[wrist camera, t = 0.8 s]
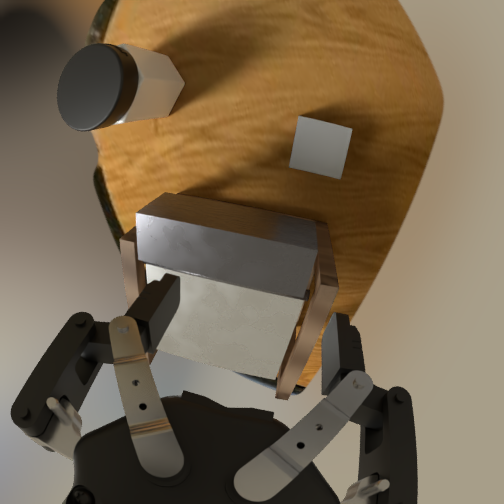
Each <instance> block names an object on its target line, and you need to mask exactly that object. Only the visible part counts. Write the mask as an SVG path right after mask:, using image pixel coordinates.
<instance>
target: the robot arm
mask: <svg viewBox="0 0 504 504" xmlns="http://www.w3.org/2000/svg"><path fill="white" fill-rule="evenodd" d="M179 304H180V276H177V275H173V274H169V273H165V274H164V276H163V277H162V278H161V280H160V281H158V280H153V281H152V282H150V283H148V284H147V285H146V286H145V288H144V289H143V290H142V292H141V293H140V294H139V296H138V297H137V298H136V300H135V301H134V303H133V304H132V305H131V307H130V308H129V309H128V311H127V313H126V314H125V315H124V316H119V317H116V318H114V319H113V320H112V321H111V322H97V321H94V319H93V317H92V316H91V314H89V313H86V312H79V313H76V314H74V315H72V316H71V317H70V318H69V320H68V321H67V323H66V324H65V325H64V327H63V328H62V329H61V331H60V332H59V333H58V335H57V336H56V338H55V339H54V341H53V342H52V343H51V345H50V346H49V348H48V349H47V351H46V352H45V354H44V355H43V356H42V358H41V360H40V361H39V362H38V364H37V366H36V367H35V369H34V370H33V372H32V373H31V375H30V377H29V378H28V380H27V381H26V383H25V385H24V386H23V388H22V390H21V391H20V393H19V395H18V397H17V398H16V400H15V402H14V403H13V405H12V408H11V417H12V420H13V422H14V423H15V424H16V425H17V426H18V427H19V428H20V429H21V430H22V431H23V432H24V433H25V434H26V435H27V436H28V437H30V438H31V439H32V440H33V441H34V442H36V443H37V444H39V445H41V446H42V447H43V448H45V449H46V450H48V451H51V452H55V451H56V452H58V453H60V454H61V455H63V456H65V457H66V458H68V459H70V460H72V461H73V462H74V483H73V487H72V489H71V491H70V493H69V495H68V496H67V497H66V499H65V500H64V502H63V503H62V504H417V495H418V491H417V489H418V477H417V450H416V436H415V426H414V416H413V407H412V400H411V396H410V394H409V393H408V392H407V390H405V389H404V388H402V387H398V386H397V387H392V388H391V389H390V390H389V391H387V390H385V389H382V388H380V387H377V386H375V385H374V384H373V381H372V379H371V378H370V376H369V375H368V374H366V373H365V365H364V358H363V351H362V344H361V338H360V333H359V332H358V330H357V328H356V327H355V326H352V325H350V322H349V316H348V315H346V314H341V313H336V312H334V313H333V314H332V316H331V319H330V321H329V323H328V325H327V327H326V329H325V331H324V334H323V337H322V395H327V397H326V398H324V399H323V400H321V402H319V403H318V404H317V405H316V406H315V407H314V408H313V409H312V410H311V411H310V412H309V413H308V414H307V415H306V416H305V417H304V418H303V419H302V420H300V421H299V422H298V423H297V424H296V425H295V426H294V427H293V428H291V429H289V428H288V427H287V426H286V425H285V424H283V423H282V422H280V421H278V420H277V419H274V418H273V415H274V412H271V411H265V410H260V409H255V408H227V407H224V406H222V405H220V404H219V403H217V402H215V401H213V400H211V399H209V398H207V397H205V396H201V395H198V394H194V393H191V392H188V391H183V393H182V396H167V397H163V398H160V397H159V394H158V391H157V388H156V385H155V382H154V379H153V376H152V373H151V370H150V366H149V363H148V360H147V357H146V355H145V354H146V352H148V353H151V354H154V352H155V350H156V349H157V347H158V345H159V343H160V341H161V339H162V337H163V335H164V334H165V332H166V330H167V328H168V326H169V324H170V323H171V321H172V319H173V317H174V315H175V313H176V312H177V310H178V307H179ZM103 363H107V364H114V369H115V374H116V378H117V382H118V387H119V391H120V395H121V399H122V403H123V407H124V411H125V414H126V416H124V417H121V418H119V419H117V420H115V421H113V422H111V423H109V424H107V425H105V426H102V427H100V428H98V429H96V430H93V431H91V432H89V433H87V434H85V435H84V436H83V437H81V434H80V431H81V427H82V420H81V417H80V415H79V414H78V411H79V409H80V407H81V405H82V403H83V401H84V399H85V397H86V395H87V393H88V391H89V389H90V387H91V385H92V383H93V382H94V380H95V378H96V376H97V374H98V372H99V370H100V368H101V366H102V365H103ZM348 421H351V422H354V423H356V424H359V425H361V432H360V433H361V434H360V457H359V474H358V481H357V482H355V483H353V484H352V485H351V486H350V487H349V488H348V490H347V493H346V496H345V498H344V500H343V501H342V502H340V501H339V499H338V497H337V495H336V494H335V492H334V491H333V490H332V488H331V487H330V485H329V484H328V483H327V482H326V480H325V478H324V477H323V476H322V474H321V473H320V471H319V470H318V469H317V467H316V466H315V464H314V463H313V461H312V460H313V459H314V458H315V457H316V456H317V455H318V454H319V453H320V452H321V451H322V450H323V449H324V448H325V447H326V446H327V445H328V444H329V443H330V441H331V440H332V439H333V438H334V437H335V436H336V435H337V434H338V433H339V431H340V430H341V429H342V428H343V427H344V426H345V424H346V423H347V422H348Z"/></svg>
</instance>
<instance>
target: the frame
mask: <svg viewBox="0 0 504 504" xmlns="http://www.w3.org/2000/svg"><path fill="white" fill-rule="evenodd" d="M177 194H178V195H184V194H179V193H177ZM184 196H190V195H184ZM190 197H195V198H201V199H206V200H212V201H217V202H223V201H218V200H213V199H207V198H202V197H196V196H190ZM223 203H228V204H233V205H238V206H243V207H248V208H253V209H258V210H263V211H268V212H273V213H278V212H274V211H269V210H264V209H259V208H254V207H249V206H244V205H239V204H234V203H229V202H223ZM278 214H282V215H287V216H292V215H288V214H283V213H278ZM292 217H296V218H301V217H297V216H292ZM301 219H305V220H310V219H306V218H301ZM310 221H314V222H315V225H316V234H317V245H318V253H317V256H316V259H315V262H314V266H313V269H312V272H311V275H310V278H309V282H308V285H307V288H306V289H309V287H310V284H311V281H312V278H313V275H314V276H315V290H314V293H313V296H312V298H311V301H310V304H309V307H308V310H307V312H306V315H305V318H304V321H303V323H302V326H301V329H300V331H299V334H298V337H297V339H296V342H295V338H296V325H297V322H298V320H299V317H300V314H301V311H302V308H303V305H304V302H305V301H304V302H303V305H302V307H301V310H300V313H299V316H298V319H297V322H296V325H295V328H294V330H293V333H292V336H291V339H290V341H289V344H288V347H287V350H286V352H285V355H284V358H283V360H282V363H281V365H280V368H279V374H278V381H277V389H276V396H275V398H277V399H283V400H288V399H289V397H290V395H291V393H292V391H293V389H294V387H295V385H296V383H297V381H298V379H299V377H300V375H301V373H302V371H303V369H304V367H305V365H306V363H307V361H308V358H309V356H310V354H311V352H312V350H313V348H314V346H315V343H316V341H317V339H318V337H319V335H320V332H321V330H322V328H323V325H324V323H325V321H326V318H327V316H328V314H329V311H330V309H331V307H332V304H333V302H334V299H335V297H336V294H337V292H338V289H339V285H338V279H337V273H336V267H335V261H334V256H333V250H332V245H331V240H330V235H329V230H328V225H327V223H323V222H319V221H315V220H310ZM120 248H121V258H122V266H123V275H124V283H125V290H126V296H127V303H128V309H129V308H130V307H131V305H132V304H133V303H134V301H135V300H136V298H137V297H138V296H139V294H140V293H141V292H142V290H143V289H144V288H145V286H146V285H145V273H144V263H143V262H142V260H138V248H137V229H136V226H135V227H134V228H132V229H131V230H130V231H129V232H127V233H126V234H125V235H124V236H123V237H121V238H120ZM157 351H158V349H156V350H155V352H154V354H151V353H148V352H146V354H145V355H146V357H147V360H148V363H149V365H150V364H151V362H152V360H153V358H154V356H155V354H156V353H157Z"/></svg>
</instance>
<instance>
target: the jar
mask: <svg viewBox="0 0 504 504" xmlns="http://www.w3.org/2000/svg"><path fill="white" fill-rule="evenodd" d="M184 85H185V82H184V81H183V79H182V77H181V76H180V74H179V73H178V71H177V69H176V68H175V66H174V65H173V63H172V61H171V60H170V58H169V57H168V56H167V55H164V54H160V53H157V52H154V51H150V50H147V49H143V48H140V47H136V46H132V45H128V44H121V45H117V46H116V45H111V44H101V43H98V44H91V45H88V46H86V47H84V48H82V49H81V50H80V51H78V52H77V53H76V54H75V55H74V56H73V57H72V58H71V59H70V60H69V62H68V63H67V65H66V66H65V68H64V70H63V72H62V74H61V77H60V80H59V84H58V90H57V91H58V92H57V102H58V108H59V111H60V114H61V116H62V118H63V120H64V121H65V122H66V123H67V125H69V126H70V127H71V128H73V129H75V130H78V131H91V130H95V129H100V128H105V127H108V126H111V125H115V124H121V123H128V122H134V121H140V120H148V119H155V118H164V117H168V116H169V113H170V111H171V109H172V108H173V106H174V104H175V102H176V100H177V98H178V96H179V94H180V92H181V90H182V88H183V87H184Z"/></svg>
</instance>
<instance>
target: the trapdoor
mask: <svg viewBox="0 0 504 504" xmlns="http://www.w3.org/2000/svg"><path fill="white" fill-rule="evenodd" d="M136 229H137V248H138V260H142V262H143V263H144V264H146V272H147V284H148V283H150V282H152V281H153V280H158V281H160V280H161V278H162V277H163V276H164V274H165V273H169V274H173V275H177V276H180V304H179V307H178V310H177V312H176V313H175V315H174V317H173V319H172V321H171V323H170V324H169V326H168V328H167V330H166V332H165V334H164V335H163V337H162V339H161V341H160V343H159V345H158V347H157V349H158V350H161V351H164V352H167V353H170V354H173V355H177V356H180V357H183V358H187V359H190V360H194V361H197V362H201V363H204V364H208V365H212V366H216V367H220V368H224V369H228V370H232V371H236V372H240V373H245V374H249V375H254V376H259V377H264V378H269V379H274V380H275V378H276V376H277V373H278V371H279V368H280V365H281V363H282V360H283V358H284V355H285V352H286V350H287V347H288V344H289V341H290V339H291V336H292V333H293V330H294V328H295V325H296V322H297V319H298V316H299V313H300V310H301V307H302V305H303V302H304V301H308V299H309V294H310V290H309V289H306V288H307V285H308V282H309V278H310V275H311V272H312V269H313V266H314V262H315V259H316V256H317V253H318V245H317V234H316V225H315V222H314V221H310V220H305V219H301V218H296V217H292V216H287V215H282V214H278V213H273V212H268V211H263V210H258V209H253V208H248V207H243V206H238V205H233V204H228V203H223V202H217V201H212V200H206V199H201V198H195V197H190V196H184V195H178V194H172V193H166V192H165V193H163V194H162V195H160V196H159V197H158V198H156V199H155V200H153V201H152V202H150V203H149V204H148V205H146V206H145V207H143V208H142V209H141V210H139V211H138V212H136Z"/></svg>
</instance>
